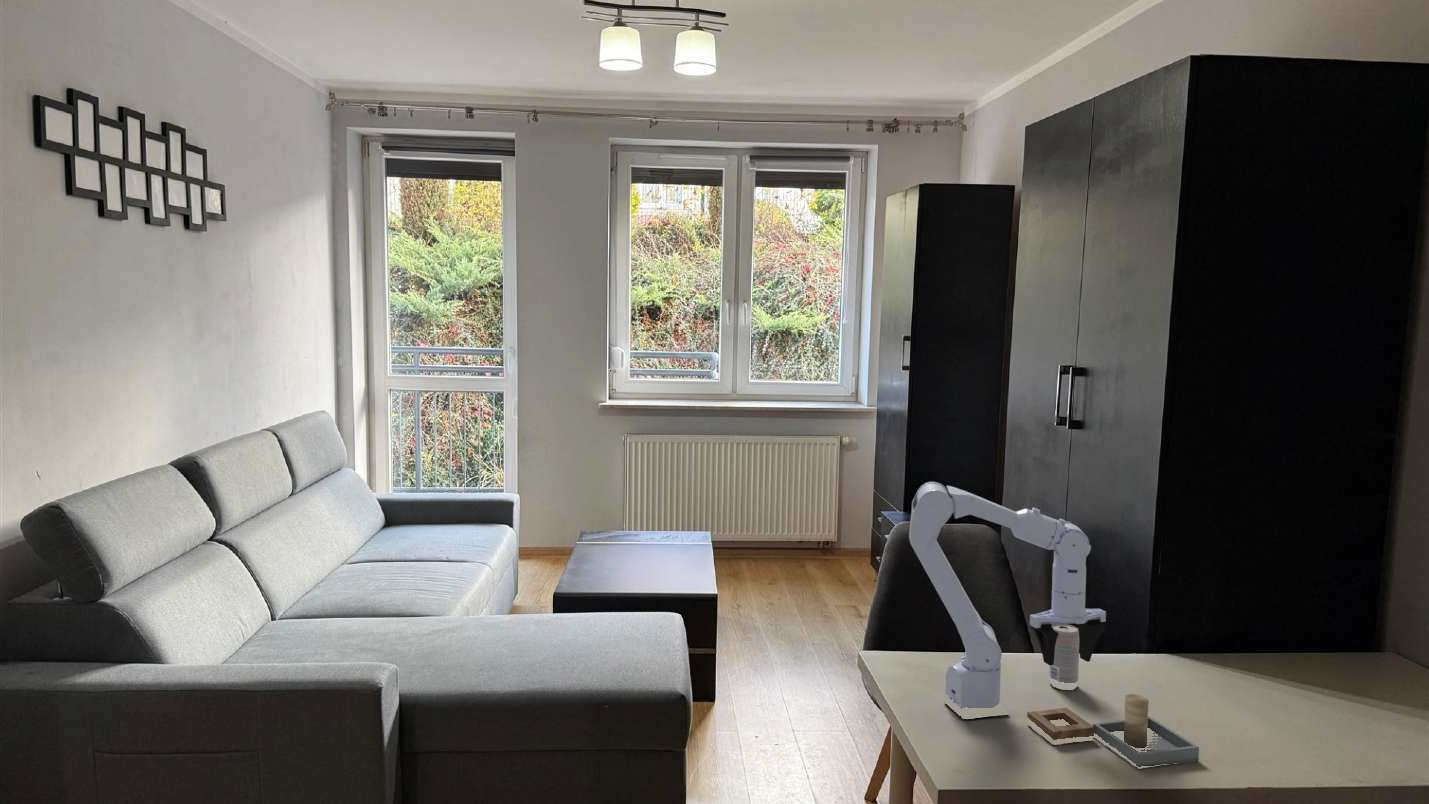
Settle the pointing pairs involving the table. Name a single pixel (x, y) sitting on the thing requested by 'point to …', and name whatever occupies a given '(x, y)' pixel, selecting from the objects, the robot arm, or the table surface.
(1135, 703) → the dowel
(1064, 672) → the energy drink
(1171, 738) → the tray
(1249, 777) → the table surface
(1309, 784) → the table surface
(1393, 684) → the table surface
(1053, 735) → the frame
